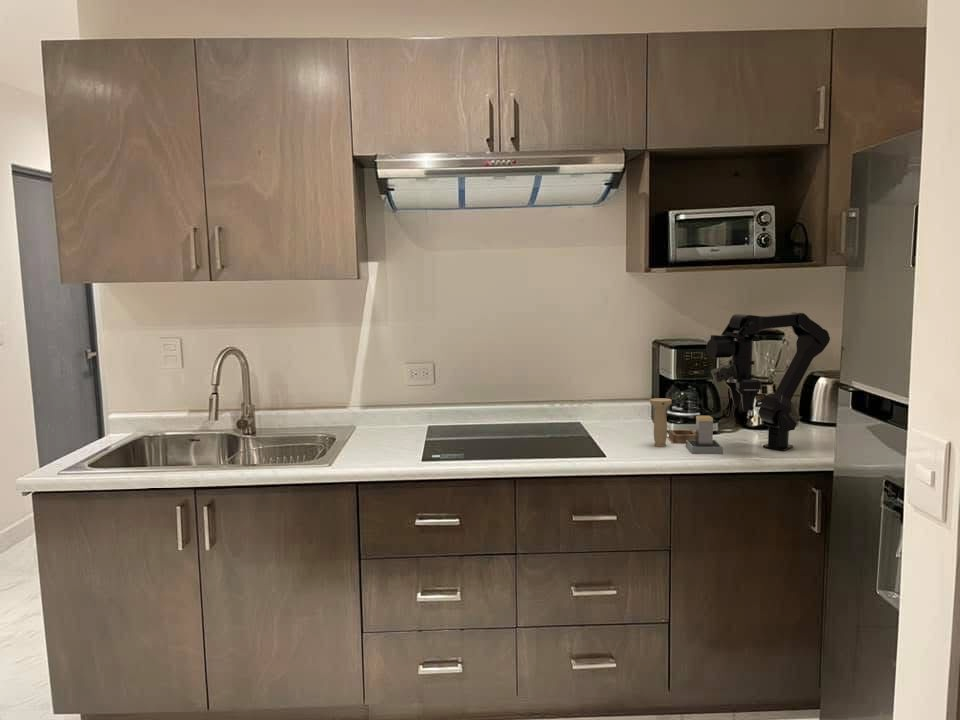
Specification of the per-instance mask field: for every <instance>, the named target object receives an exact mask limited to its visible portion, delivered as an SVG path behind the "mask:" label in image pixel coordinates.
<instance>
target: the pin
mask: <svg viewBox="0 0 960 720" xmlns="http://www.w3.org/2000/svg"><path fill="white" fill-rule="evenodd" d="M695 432H696V447H712V442H713V440H714V439H713V438H714V435H713V433H714V418H713V417H712V416H711V415H696V416H695Z"/></svg>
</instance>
